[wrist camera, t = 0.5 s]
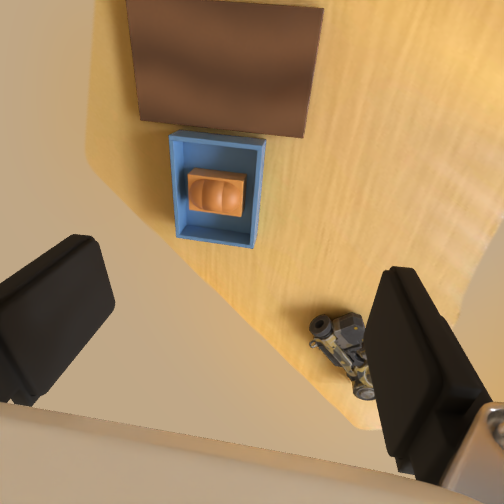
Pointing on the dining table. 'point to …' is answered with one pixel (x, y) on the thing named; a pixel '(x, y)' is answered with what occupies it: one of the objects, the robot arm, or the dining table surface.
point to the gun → (345, 349)
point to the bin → (223, 159)
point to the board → (224, 63)
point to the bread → (217, 191)
